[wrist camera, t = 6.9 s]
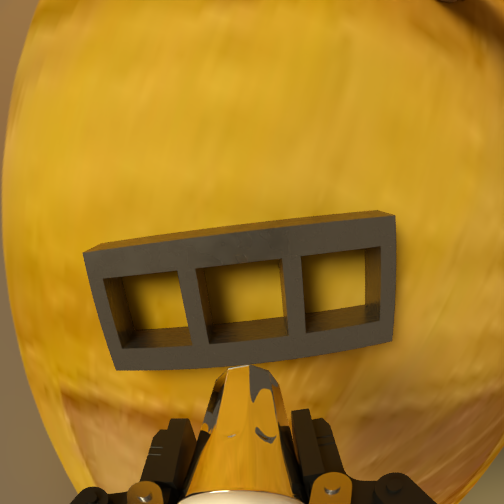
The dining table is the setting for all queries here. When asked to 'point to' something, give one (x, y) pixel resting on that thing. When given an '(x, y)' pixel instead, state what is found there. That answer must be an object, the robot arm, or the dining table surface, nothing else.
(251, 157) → the dining table surface
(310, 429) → the robot arm
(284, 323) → the three-window grey frame
